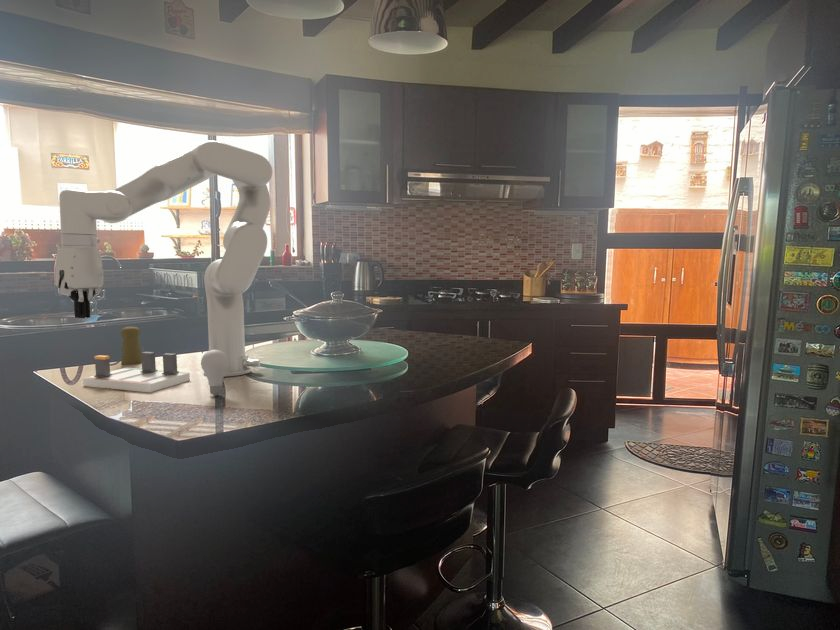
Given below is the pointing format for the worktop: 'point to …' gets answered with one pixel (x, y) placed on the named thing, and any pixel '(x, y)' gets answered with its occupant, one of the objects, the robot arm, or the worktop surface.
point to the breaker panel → (136, 380)
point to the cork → (131, 346)
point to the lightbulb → (214, 369)
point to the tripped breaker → (102, 366)
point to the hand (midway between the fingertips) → (82, 317)
